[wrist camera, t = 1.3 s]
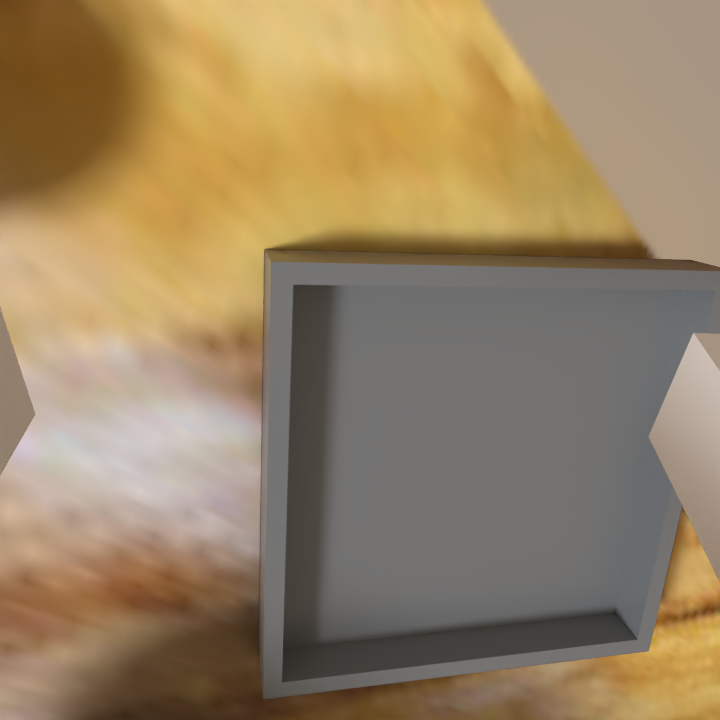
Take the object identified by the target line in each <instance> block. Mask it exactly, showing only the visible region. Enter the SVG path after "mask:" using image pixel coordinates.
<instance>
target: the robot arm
mask: <svg viewBox="0 0 720 720" xmlns="http://www.w3.org/2000/svg"><path fill="white" fill-rule="evenodd" d="M34 416H35V412H34V409H33V406H32V403H31V400H30V397H29V394H28V391H27V388H26V385H25V382H24V378H23V375H22V372H21V369H20V366H19V363H18V360H17V357H16V354H15V351H14V348H13V345H12V342H11V339H10V336H9V333H8V330H7V327H6V324H5V321H4V318H3V315H2V312H1V309H0V475H1V473H2V471H3V470H4V468H5V466H6V464H7V463H8V461H9V459H10V457H11V456H12V454H13V452H14V450H15V449H16V447H17V445H18V443H19V442H20V440H21V438H22V436H23V435H24V433H25V431H26V429H27V428H28V426H29V424H30V422H31V421H32V419H33V417H34ZM648 437H649V439H650V441H651V443H652V445H653V447H654V449H655V451H656V453H657V455H658V457H659V459H660V461H661V463H662V465H663V467H664V469H665V471H666V473H667V476H668V478H669V480H670V482H671V484H672V486H673V488H674V490H675V492H676V494H677V496H678V498H679V500H680V502H681V504H682V506H683V508H684V510H685V512H686V514H687V516H688V518H689V520H690V522H691V524H692V526H693V528H694V530H695V533H696V535H697V537H698V539H699V541H700V543H701V545H702V547H703V549H704V551H705V553H706V555H707V557H708V559H709V561H710V563H711V565H712V567H713V569H714V571H715V573H716V575H717V577H718V579H719V581H720V334H710V333H693V335H692V337H691V339H690V342H689V344H688V346H687V349H686V351H685V353H684V356H683V358H682V360H681V362H680V365H679V367H678V369H677V372H676V374H675V376H674V379H673V381H672V383H671V386H670V388H669V390H668V392H667V395H666V397H665V399H664V402H663V404H662V406H661V409H660V411H659V413H658V416H657V418H656V420H655V423H654V425H653V427H652V429H651V432H650V434H649V436H648Z"/></svg>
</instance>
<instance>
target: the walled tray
mask: <svg viewBox="0 0 720 720" xmlns="http://www.w3.org/2000/svg"><path fill="white" fill-rule="evenodd" d="M693 333H710V334H720V267H716V266H713V265H709V264H704V263H700V262H697V261H693V260H669V259H629V258H589V257H549V256H509V255H469V254H429V253H389V252H349V251H309V250H269V249H264V301H263V369H262V437H261V505H260V573H259V641H258V655H259V665H260V674H261V683H262V693H263V699H271V698H279V697H287V696H295V695H303V694H311V693H319V692H327V691H335V690H343V689H351V688H359V687H367V686H375V685H383V684H391V683H399V682H407V681H415V680H423V679H431V678H439V677H447V676H455V675H463V674H471V673H479V672H486V671H494V670H502V669H510V668H518V667H526V666H534V665H542V664H550V663H558V662H566V661H574V660H582V659H590V658H598V657H606V656H614V655H622V654H630V653H638V652H646V651H649V648H650V644H651V639H652V635H653V631H654V626H655V622H656V618H657V613H658V609H659V605H660V601H661V596H662V592H663V588H664V583H665V579H666V575H667V570H668V566H669V562H670V557H671V553H672V549H673V544H674V540H675V536H676V531H677V527H678V523H679V518H680V514H681V510H682V504H681V502H680V500H679V498H678V496H677V494H676V492H675V490H674V488H673V486H672V484H671V482H670V480H669V478H668V476H667V473H666V471H665V469H664V467H663V465H662V463H661V461H660V459H659V457H658V455H657V453H656V451H655V449H654V447H653V445H652V443H651V441H650V439H649V437H648V436H649V434H650V432H651V429H652V427H653V425H654V423H655V420H656V418H657V416H658V413H659V411H660V409H661V406H662V404H663V402H664V399H665V397H666V395H667V392H668V390H669V388H670V386H671V383H672V381H673V379H674V376H675V374H676V372H677V369H678V367H679V365H680V362H681V360H682V358H683V356H684V353H685V351H686V349H687V346H688V344H689V342H690V339H691V337H692V335H693Z"/></svg>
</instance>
